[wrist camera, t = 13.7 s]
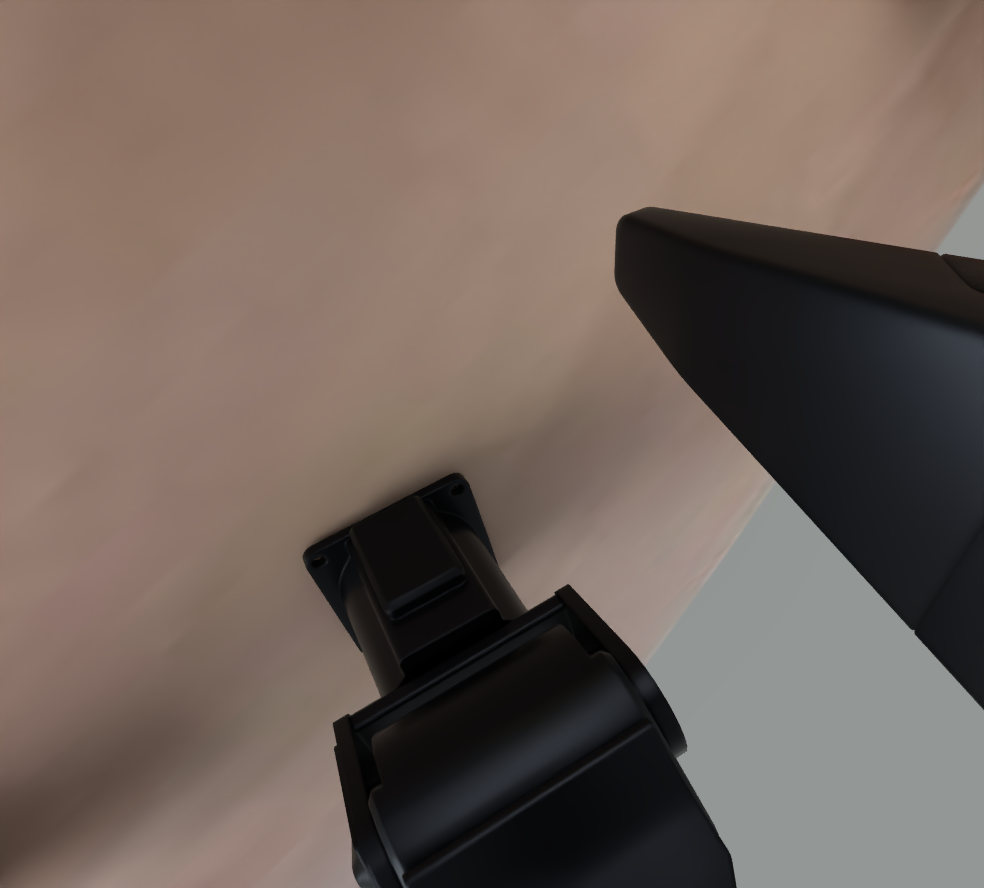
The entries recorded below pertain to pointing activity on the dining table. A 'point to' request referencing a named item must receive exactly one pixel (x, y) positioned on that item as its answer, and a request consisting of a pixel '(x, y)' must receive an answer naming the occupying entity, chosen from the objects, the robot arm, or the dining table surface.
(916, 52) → the dining table surface
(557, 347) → the dining table surface
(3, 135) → the dining table surface
